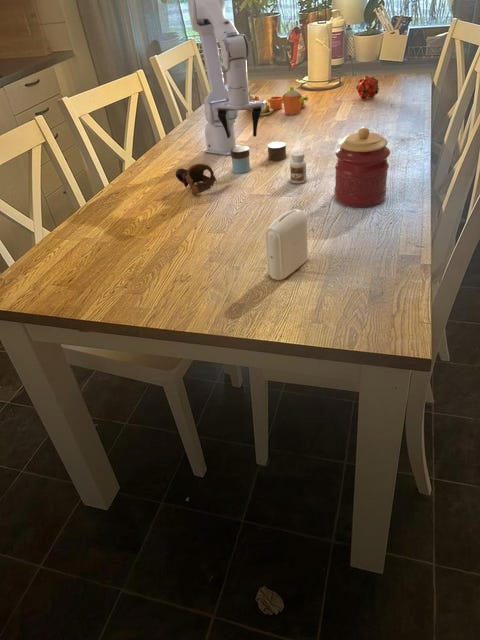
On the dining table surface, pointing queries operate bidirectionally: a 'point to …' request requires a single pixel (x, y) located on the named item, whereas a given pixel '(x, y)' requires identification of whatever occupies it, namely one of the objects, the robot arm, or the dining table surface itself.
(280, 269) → the photo printer
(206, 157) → the dining table surface
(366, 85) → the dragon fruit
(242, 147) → the top chip
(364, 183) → the kitchen canister
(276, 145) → the middle chip
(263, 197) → the dining table surface
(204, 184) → the pottery mug
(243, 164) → the cup
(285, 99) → the toy tea set
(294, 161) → the pill bottle
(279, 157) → the base chip
